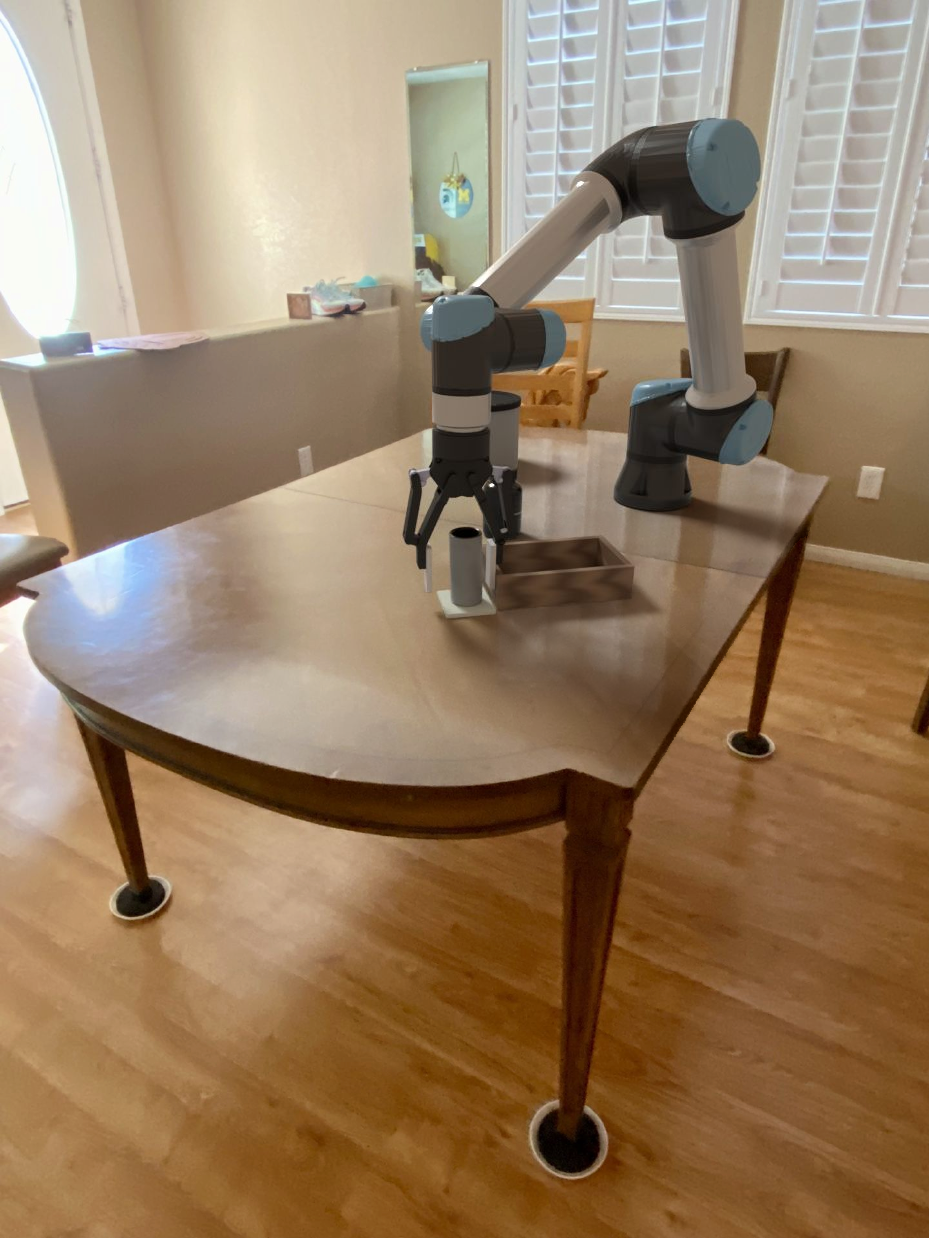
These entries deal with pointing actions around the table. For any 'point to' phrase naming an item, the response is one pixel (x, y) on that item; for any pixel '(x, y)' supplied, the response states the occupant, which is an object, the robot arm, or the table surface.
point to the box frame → (559, 573)
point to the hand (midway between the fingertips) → (459, 586)
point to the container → (504, 428)
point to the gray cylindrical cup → (465, 566)
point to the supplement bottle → (494, 502)
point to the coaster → (464, 611)
